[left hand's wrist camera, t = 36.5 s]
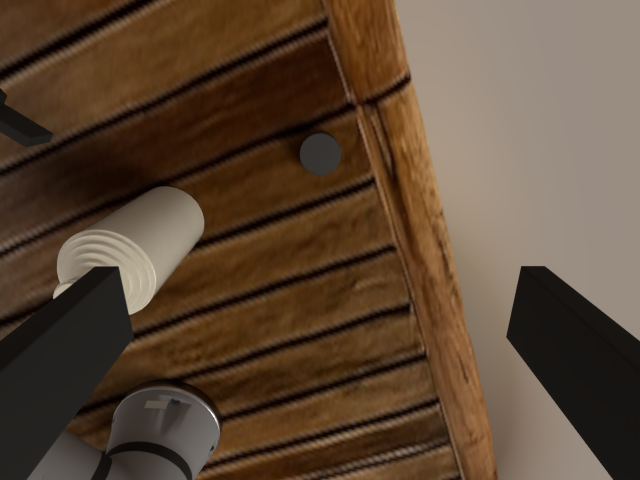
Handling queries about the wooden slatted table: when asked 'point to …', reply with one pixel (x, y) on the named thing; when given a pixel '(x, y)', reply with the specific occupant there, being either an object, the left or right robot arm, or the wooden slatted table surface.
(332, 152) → the cap
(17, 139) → the right robot arm
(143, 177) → the wooden slatted table surface
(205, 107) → the wooden slatted table surface
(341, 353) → the wooden slatted table surface
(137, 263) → the bottle
